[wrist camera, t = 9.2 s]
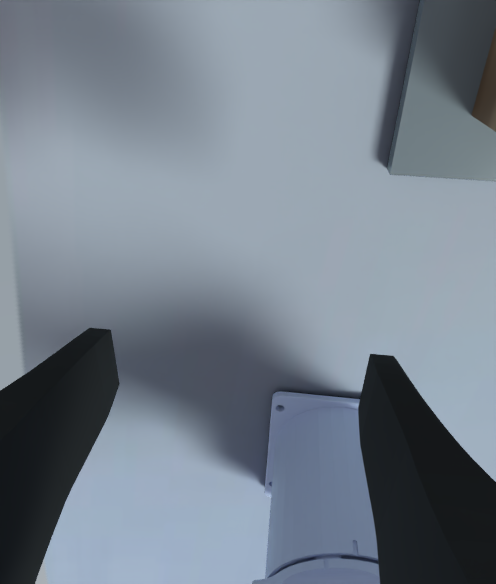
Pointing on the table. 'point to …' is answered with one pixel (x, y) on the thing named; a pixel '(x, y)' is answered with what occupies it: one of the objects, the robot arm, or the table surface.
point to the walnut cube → (487, 91)
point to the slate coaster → (445, 94)
